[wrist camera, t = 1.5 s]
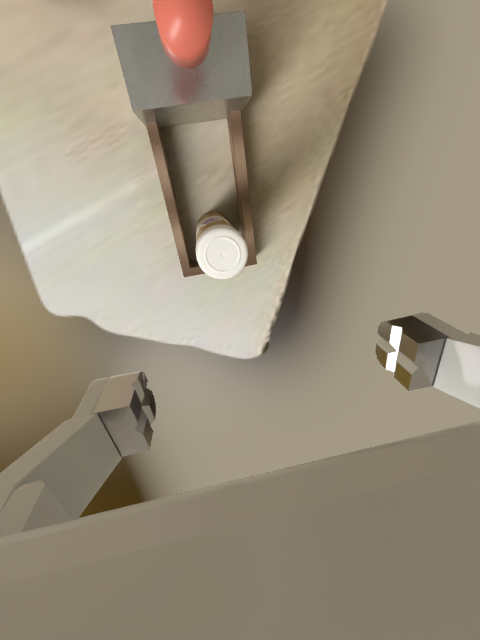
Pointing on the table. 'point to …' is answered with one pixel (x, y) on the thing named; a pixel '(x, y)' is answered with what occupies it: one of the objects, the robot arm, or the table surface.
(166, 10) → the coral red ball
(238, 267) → the sprinkles bottle
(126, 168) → the table surface
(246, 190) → the brown wooden frame
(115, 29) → the cabinet
